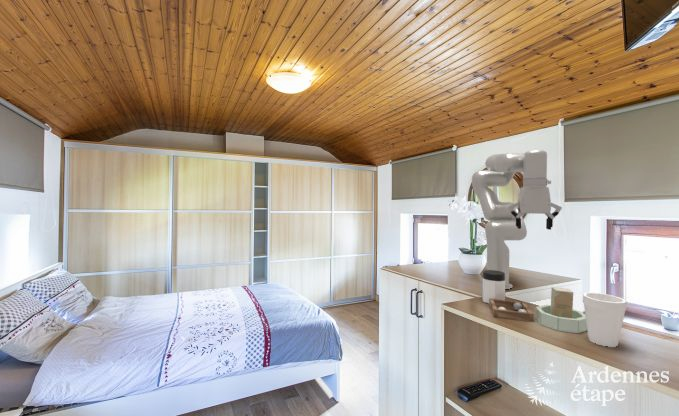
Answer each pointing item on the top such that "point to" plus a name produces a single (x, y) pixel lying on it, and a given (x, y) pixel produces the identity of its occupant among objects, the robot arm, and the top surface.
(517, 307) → the pebble
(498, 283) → the jar
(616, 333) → the foam cup
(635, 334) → the top surface
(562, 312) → the box
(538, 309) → the bowl
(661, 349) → the top surface
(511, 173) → the robot arm
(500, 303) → the tray
